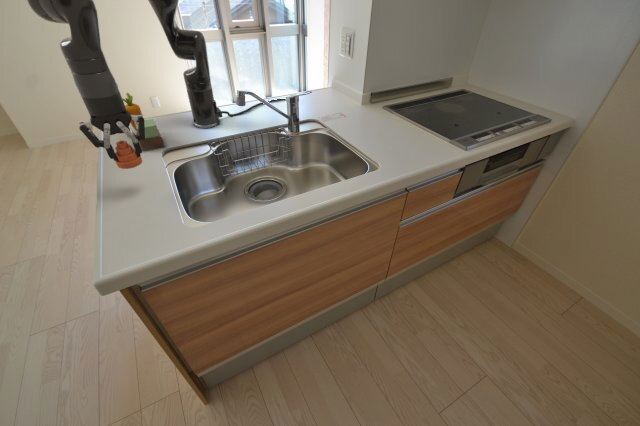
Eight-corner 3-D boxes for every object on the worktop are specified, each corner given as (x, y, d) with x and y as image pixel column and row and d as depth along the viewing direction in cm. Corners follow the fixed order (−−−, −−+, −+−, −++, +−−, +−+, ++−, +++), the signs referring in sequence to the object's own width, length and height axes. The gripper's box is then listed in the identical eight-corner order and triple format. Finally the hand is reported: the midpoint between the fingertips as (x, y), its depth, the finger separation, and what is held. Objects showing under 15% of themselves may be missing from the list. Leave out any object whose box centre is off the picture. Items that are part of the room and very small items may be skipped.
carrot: (143, 138, 108) (128, 97, 99) (131, 136, 109) (115, 95, 99) (151, 132, 112) (138, 92, 102) (139, 131, 113) (125, 91, 103)
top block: (156, 129, 106) (153, 118, 103) (159, 136, 102) (156, 125, 99) (138, 132, 103) (134, 121, 101) (140, 139, 99) (136, 128, 97)
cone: (140, 155, 82) (132, 133, 78) (144, 165, 78) (135, 143, 74) (116, 160, 79) (106, 138, 75) (118, 171, 76) (107, 148, 71)
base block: (161, 138, 109) (157, 128, 106) (164, 147, 105) (161, 136, 102) (140, 142, 106) (136, 132, 103) (142, 151, 102) (138, 140, 99)
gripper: (60, 101, 61) (96, 170, 72) (137, 92, 67) (159, 157, 78) (61, 89, 66) (95, 156, 77) (132, 82, 72) (154, 145, 83)
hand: (127, 156), depth 77 cm, fingers closed on cone, 4 cm apart
